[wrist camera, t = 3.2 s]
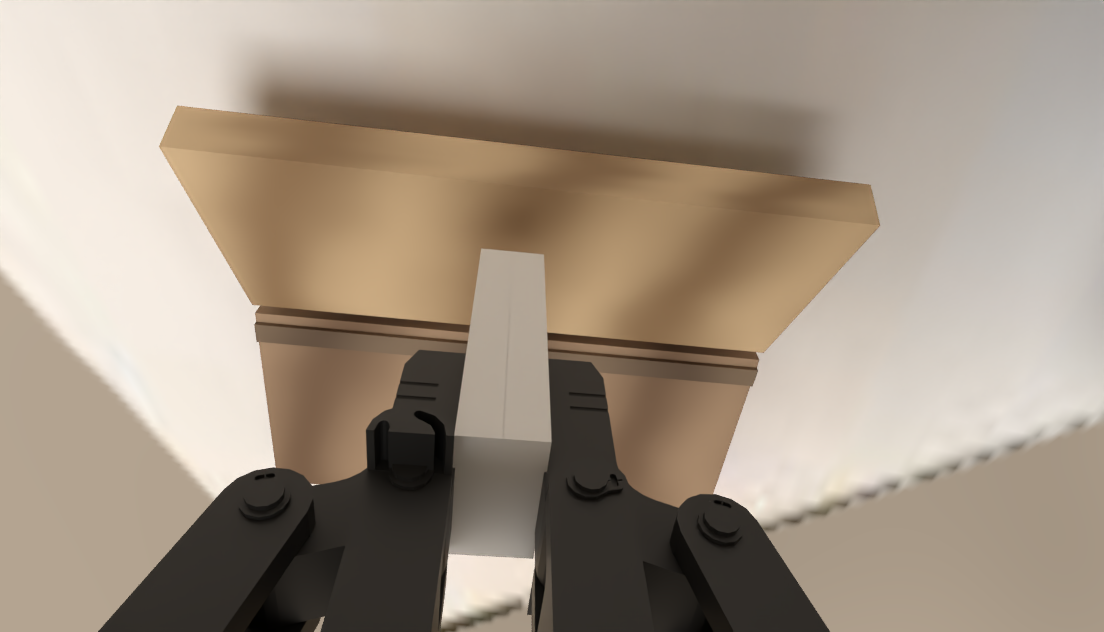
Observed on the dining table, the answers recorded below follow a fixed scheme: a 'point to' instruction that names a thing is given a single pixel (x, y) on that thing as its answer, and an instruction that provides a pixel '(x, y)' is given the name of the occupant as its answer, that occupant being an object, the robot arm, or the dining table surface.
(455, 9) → the dining table surface
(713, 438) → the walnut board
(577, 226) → the oak plank
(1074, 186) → the dining table surface
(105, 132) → the dining table surface
